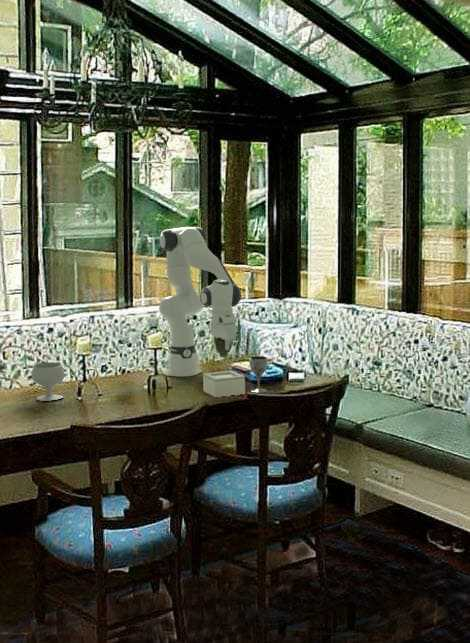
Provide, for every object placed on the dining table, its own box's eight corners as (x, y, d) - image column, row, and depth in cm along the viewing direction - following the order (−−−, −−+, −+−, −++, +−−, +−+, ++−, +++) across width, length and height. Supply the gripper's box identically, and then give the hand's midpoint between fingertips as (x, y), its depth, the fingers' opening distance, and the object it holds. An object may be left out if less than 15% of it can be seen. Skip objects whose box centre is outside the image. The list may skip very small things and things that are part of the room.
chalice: (30, 397, 389) (28, 363, 387) (62, 394, 395) (60, 360, 392) (35, 404, 377) (34, 369, 374) (68, 400, 382) (67, 366, 380)
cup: (232, 355, 393) (232, 337, 391) (231, 358, 385) (230, 340, 384) (215, 355, 393) (215, 337, 392) (214, 358, 386) (213, 340, 385)
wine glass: (262, 388, 399) (262, 355, 397) (271, 391, 392) (270, 358, 390) (246, 390, 396) (246, 357, 394) (255, 393, 389) (254, 360, 387)
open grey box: (203, 391, 395) (203, 373, 394) (232, 387, 401) (232, 370, 400) (215, 397, 383) (215, 379, 382) (245, 394, 388) (244, 376, 387)
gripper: (206, 314, 395) (207, 345, 397) (224, 320, 376) (225, 352, 379) (220, 313, 398) (220, 344, 400) (238, 319, 379) (239, 351, 381)
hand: (223, 348), depth 389 cm, fingers closed on cup, 6 cm apart
